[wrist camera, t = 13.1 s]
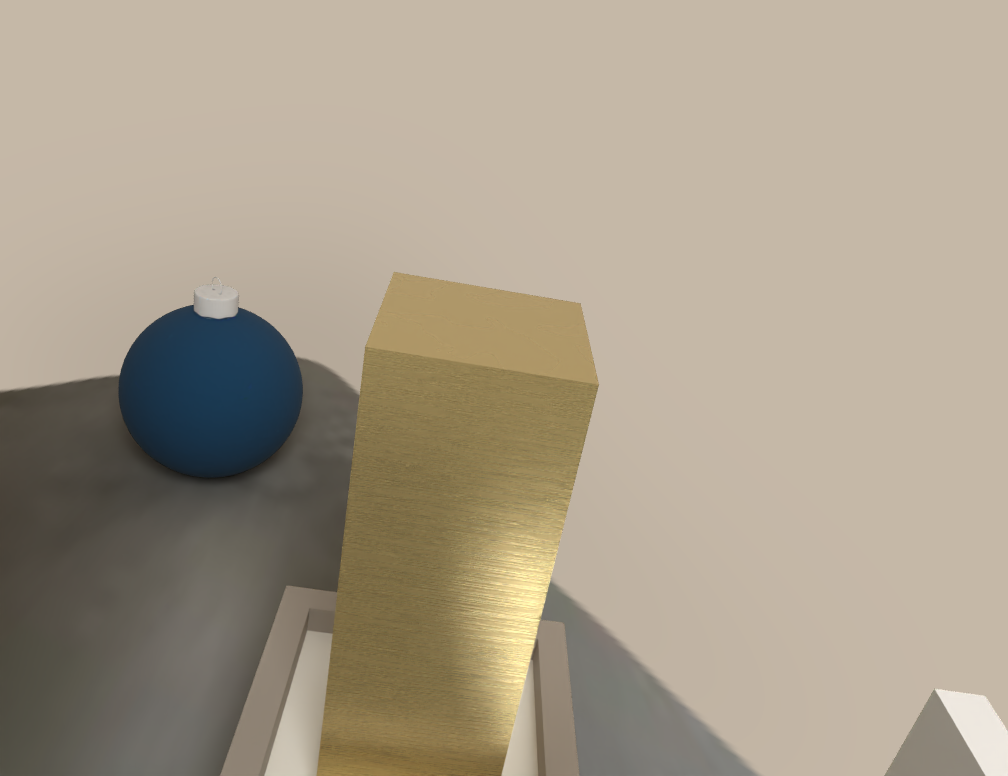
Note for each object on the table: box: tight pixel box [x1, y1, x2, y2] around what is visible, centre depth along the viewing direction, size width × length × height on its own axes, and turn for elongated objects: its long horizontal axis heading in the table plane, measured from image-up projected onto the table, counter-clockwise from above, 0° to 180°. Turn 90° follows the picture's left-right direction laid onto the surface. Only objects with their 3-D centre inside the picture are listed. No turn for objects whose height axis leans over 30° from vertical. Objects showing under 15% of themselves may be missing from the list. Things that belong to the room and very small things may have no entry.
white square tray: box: [220, 585, 579, 776], centre depth 27 cm, size 10×10×4 cm
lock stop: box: [317, 272, 599, 776], centre depth 23 cm, size 5×5×14 cm
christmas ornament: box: [119, 277, 303, 477], centre depth 41 cm, size 8×8×10 cm
